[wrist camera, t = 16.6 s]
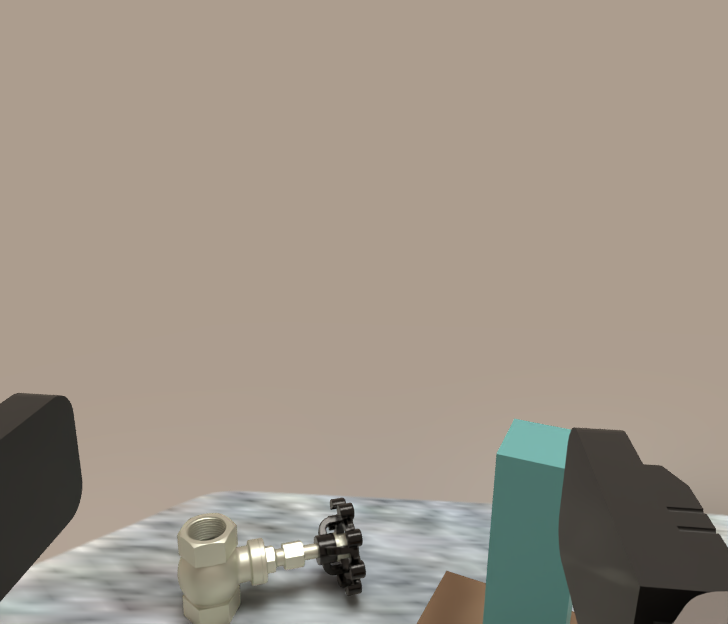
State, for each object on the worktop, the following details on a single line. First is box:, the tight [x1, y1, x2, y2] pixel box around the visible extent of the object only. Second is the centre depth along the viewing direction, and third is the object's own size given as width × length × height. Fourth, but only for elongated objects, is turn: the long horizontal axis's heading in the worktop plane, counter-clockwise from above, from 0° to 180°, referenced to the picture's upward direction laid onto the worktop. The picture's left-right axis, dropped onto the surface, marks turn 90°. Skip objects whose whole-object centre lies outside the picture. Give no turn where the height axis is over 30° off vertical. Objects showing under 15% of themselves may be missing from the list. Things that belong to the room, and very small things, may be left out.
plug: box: [483, 419, 572, 624], centre depth 38 cm, size 4×4×15 cm
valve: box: [177, 498, 366, 624], centre depth 47 cm, size 7×7×12 cm
